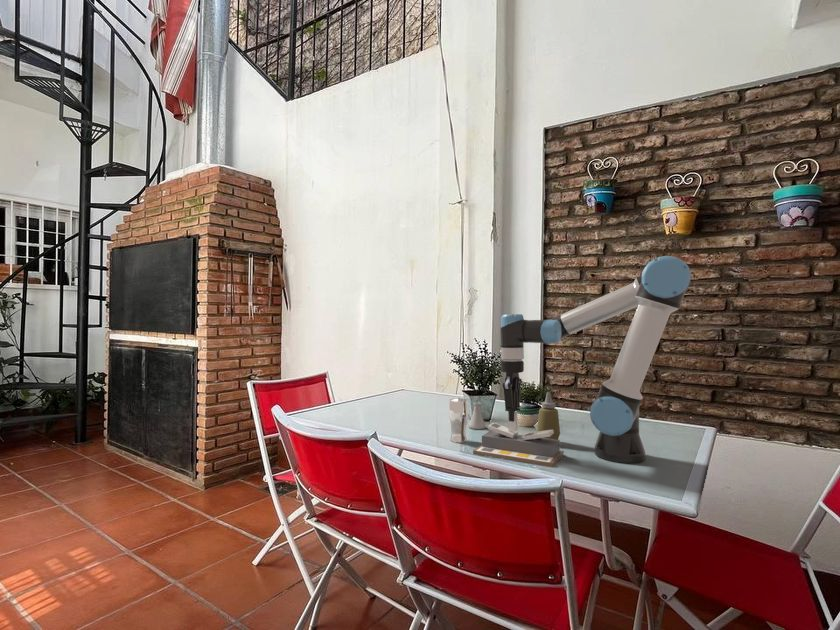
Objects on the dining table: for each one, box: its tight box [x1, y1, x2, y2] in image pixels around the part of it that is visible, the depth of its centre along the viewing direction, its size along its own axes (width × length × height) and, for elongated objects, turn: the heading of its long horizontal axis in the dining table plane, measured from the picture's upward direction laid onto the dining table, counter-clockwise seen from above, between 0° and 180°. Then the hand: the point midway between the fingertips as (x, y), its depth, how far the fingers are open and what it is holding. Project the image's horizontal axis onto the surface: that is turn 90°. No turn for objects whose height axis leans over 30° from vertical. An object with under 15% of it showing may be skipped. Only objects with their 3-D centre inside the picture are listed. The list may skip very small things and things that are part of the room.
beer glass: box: [448, 397, 469, 444], centre depth 167 cm, size 7×7×15 cm
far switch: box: [487, 422, 519, 438], centre depth 156 cm, size 9×5×1 cm, turn 60°
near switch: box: [522, 429, 554, 440], centre depth 150 cm, size 9×5×1 cm, turn 60°
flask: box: [468, 402, 487, 430], centre depth 187 cm, size 7×7×10 cm
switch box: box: [472, 430, 565, 468], centre depth 151 cm, size 26×14×6 cm, turn 60°
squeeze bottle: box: [536, 392, 561, 440], centre depth 165 cm, size 8×8×18 cm
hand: (512, 430), depth 154 cm, fingers closed
